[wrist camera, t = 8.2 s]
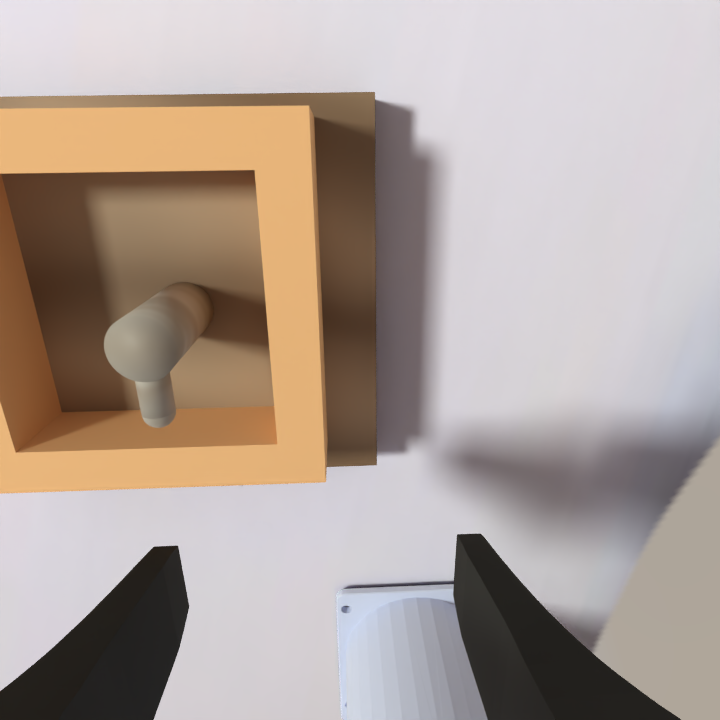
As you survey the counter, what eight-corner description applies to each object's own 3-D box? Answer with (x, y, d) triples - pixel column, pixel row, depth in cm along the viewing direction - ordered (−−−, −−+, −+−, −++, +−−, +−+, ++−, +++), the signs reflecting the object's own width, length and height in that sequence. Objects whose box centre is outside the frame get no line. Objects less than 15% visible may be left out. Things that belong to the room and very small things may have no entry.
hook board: (374, 446, 22) (386, 538, 17) (58, 457, 22) (-38, 555, 16) (371, 98, 17) (387, 64, 12) (-38, 103, 17) (-224, 71, 11)
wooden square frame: (327, 439, 20) (325, 482, 18) (30, 448, 20) (-20, 494, 17) (314, 116, 16) (308, 105, 13) (-64, 121, 16) (-151, 110, 13)
